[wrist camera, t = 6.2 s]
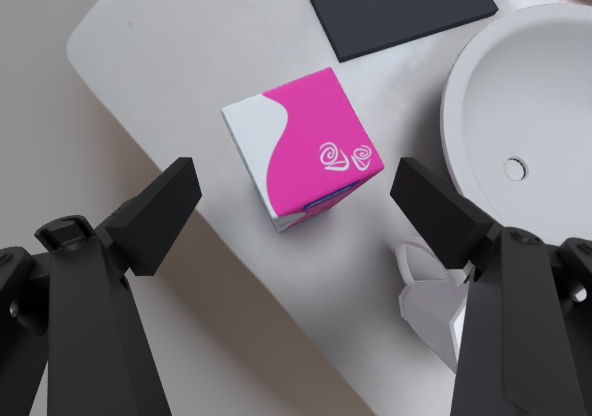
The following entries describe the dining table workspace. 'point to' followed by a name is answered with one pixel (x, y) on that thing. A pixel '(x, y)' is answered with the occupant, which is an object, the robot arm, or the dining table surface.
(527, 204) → the white sink basin
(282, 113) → the supplement box
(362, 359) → the dining table surface
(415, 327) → the cup
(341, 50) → the mat
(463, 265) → the robot arm
